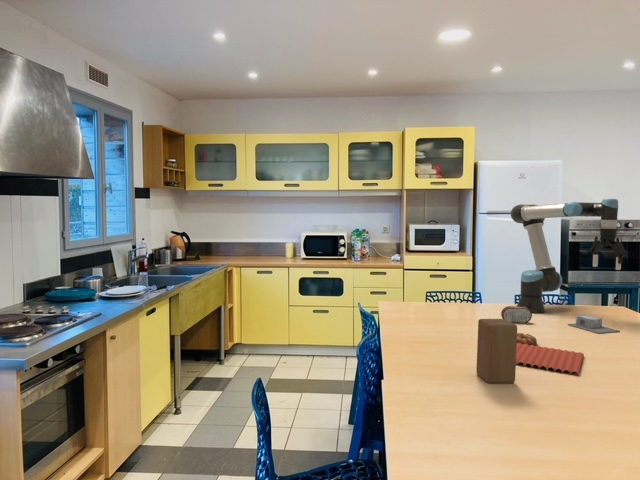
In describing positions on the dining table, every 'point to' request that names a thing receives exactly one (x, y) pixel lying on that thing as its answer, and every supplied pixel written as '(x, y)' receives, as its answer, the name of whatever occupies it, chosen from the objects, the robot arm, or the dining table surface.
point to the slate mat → (596, 329)
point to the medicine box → (588, 321)
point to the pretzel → (526, 339)
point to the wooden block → (496, 350)
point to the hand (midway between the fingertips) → (606, 268)
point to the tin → (516, 314)
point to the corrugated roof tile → (549, 358)
